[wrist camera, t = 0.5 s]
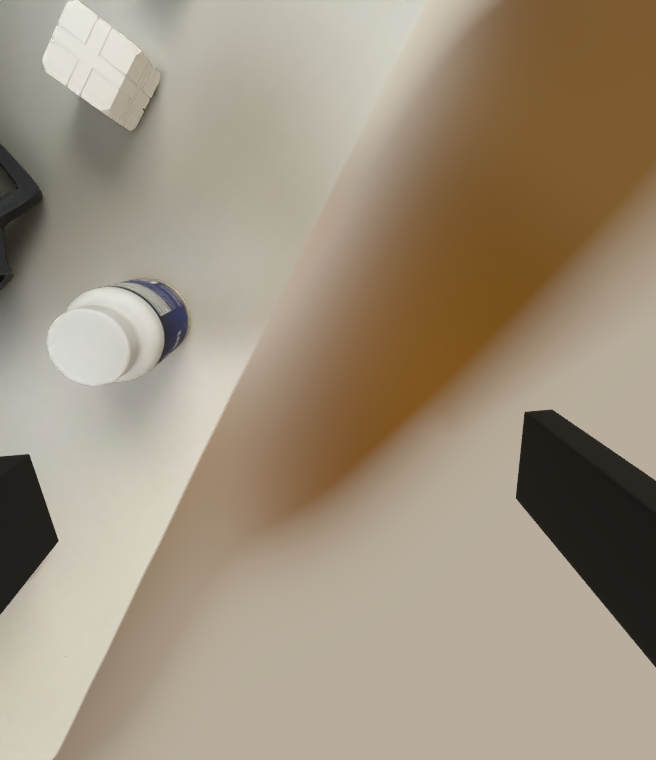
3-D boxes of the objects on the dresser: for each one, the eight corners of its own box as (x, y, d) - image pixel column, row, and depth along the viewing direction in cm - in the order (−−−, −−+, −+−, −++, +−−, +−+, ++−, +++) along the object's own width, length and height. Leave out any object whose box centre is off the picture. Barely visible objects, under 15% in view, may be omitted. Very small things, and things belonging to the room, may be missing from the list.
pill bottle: (166, 366, 31) (108, 419, 22) (100, 322, 30) (9, 358, 20) (206, 309, 30) (164, 340, 21) (140, 261, 29) (63, 270, 19)
